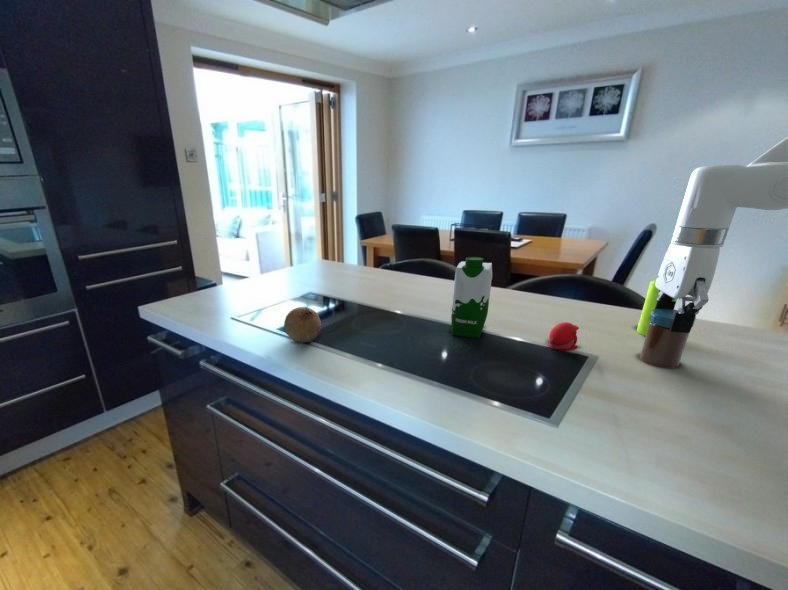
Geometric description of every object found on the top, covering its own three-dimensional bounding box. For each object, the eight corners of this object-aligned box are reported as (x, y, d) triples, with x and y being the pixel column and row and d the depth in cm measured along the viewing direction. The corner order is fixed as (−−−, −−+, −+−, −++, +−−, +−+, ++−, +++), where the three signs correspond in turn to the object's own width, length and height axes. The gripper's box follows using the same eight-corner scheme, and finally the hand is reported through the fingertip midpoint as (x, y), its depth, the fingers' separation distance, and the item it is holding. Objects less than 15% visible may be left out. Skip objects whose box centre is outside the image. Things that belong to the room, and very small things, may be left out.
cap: (571, 356, 88) (577, 332, 85) (543, 350, 91) (547, 326, 89) (580, 345, 93) (585, 322, 91) (553, 339, 97) (557, 316, 95)
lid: (658, 327, 78) (660, 318, 77) (643, 316, 84) (646, 307, 83) (700, 330, 76) (703, 320, 75) (682, 318, 82) (685, 309, 81)
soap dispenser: (675, 338, 95) (702, 256, 88) (644, 337, 96) (668, 256, 89) (661, 329, 101) (685, 252, 93) (631, 328, 102) (653, 252, 94)
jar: (672, 360, 85) (687, 314, 81) (682, 373, 79) (698, 324, 75) (636, 355, 87) (648, 310, 83) (642, 367, 82) (656, 320, 78)
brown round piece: (314, 354, 100) (322, 326, 93) (278, 346, 99) (284, 318, 92) (319, 329, 107) (326, 302, 100) (285, 321, 106) (290, 293, 99)
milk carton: (447, 336, 101) (454, 259, 93) (453, 324, 109) (459, 252, 101) (483, 340, 97) (492, 261, 90) (486, 328, 105) (496, 254, 97)
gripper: (654, 230, 82) (631, 310, 89) (699, 243, 66) (668, 339, 73) (697, 230, 80) (670, 312, 87) (754, 244, 64) (716, 343, 71)
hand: (669, 324), depth 80 cm, fingers closed on lid, 7 cm apart
